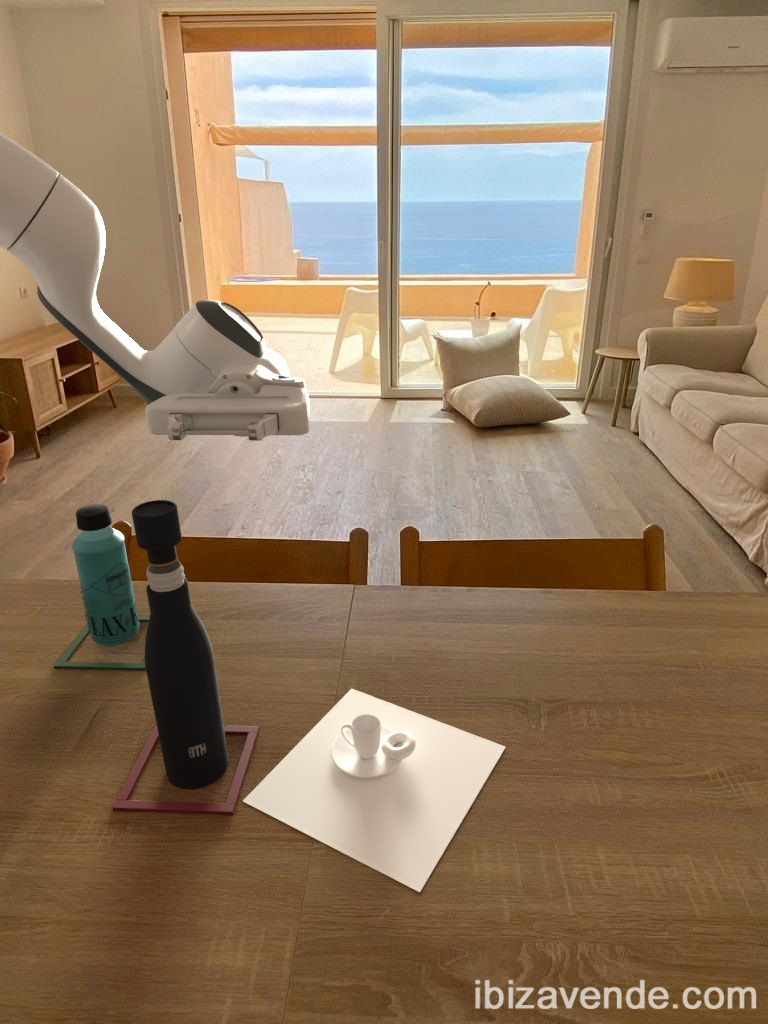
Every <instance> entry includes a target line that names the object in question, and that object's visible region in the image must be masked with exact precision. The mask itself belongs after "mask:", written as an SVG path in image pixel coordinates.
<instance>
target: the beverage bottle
mask: <svg viewBox="0 0 768 1024" xmlns="http://www.w3.org/2000/svg"><path fill="white" fill-rule="evenodd" d="M75 519H76V527H77V529H78V530H79V531H82V532H80V533H79V535H77V537H75V539H74V540H73V542H72V544H71V549H72V551H73V555H74V560H75V565H76V570H77V575H78V580H79V584H80V594H81V597H80V598H81V600H82V602H83V606H84V610H83V611H84V613H85V614H84V615H85V620H86V625H88V624H89V627H88V630H89V629H90V631H89V634H88V635H89V636H90V638H91V639H92V641H93V642H94V643H95V644H96V645H98V646H102V647H113V646H119V645H122V644H125V643H127V642H129V641H131V640H133V639H134V638H135V637H136V636H137V634H138V633H139V630H140V628H141V627H140V626H141V625H140V622H139V620H140V619H139V620H138V618H139V616H140V614H139V612H138V611H139V610H138V607H137V604H138V603H137V601H136V596H135V594H134V593H135V592H134V586H133V582H132V575H131V571H130V570H131V569H130V568H131V564H130V563H129V562H128V561H129V560H128V555H127V549H126V544H125V536H124V534H123V533H122V532H121V531H119V530H117V529H115V528H114V527H110V526H111V525H112V524H113V517H112V514H111V511H110V508H109V506H108V505H106V504H102V503H92V504H87V505H83V506H82V507H80V508H78V509H77V510H76V512H75Z"/></svg>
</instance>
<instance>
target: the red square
mask: <svg viewBox="0 0 768 1024" xmlns="http://www.w3.org/2000/svg"><path fill="white" fill-rule="evenodd" d="M223 725H224V724H223ZM224 732H225V735H241V736H243V735H244V736H247V737H246V740H245V742H244V745H243V749H242V751H241V754H240V757H239V760H238V763H237V766H236V769H235V772H234V776H233V778H232V781H231V784H230V788H229V791H228V794H227V797H226V800H225V802H224V803H222V802H221V803H220V802H218V803H217V802H214V803H213V802H193V801H191V802H189V801H163V800H161V801H160V800H135V799H134V800H130V797H131V795H132V792H133V791H134V790H135V787H136V785H137V783H138V781H139V779H140V776H141V775H142V772H143V770H144V768H145V767H146V764H147V762H148V760H149V758H150V756H151V755H152V752H153V750H154V748H155V746H156V744H157V742H158V740H159V734H158V729H157V724H156V723H155V724H154V726H153V727H152V729H151V731H150V733H149V735H148V737H147V739H146V741H145V743H144V745H143V747H142V749H141V751H140V753H139V755H138V757H137V758H136V760H135V762H134V764H133V766H132V768H131V770H130V771H129V774H128V776H127V778H126V780H125V782H124V783H123V785H122V788H121V790H120V792H119V794H118V796H117V798H116V800H115V802H114V803H113V805H112V811H117V812H118V811H119V812H147V813H171V814H173V813H175V814H200V815H201V814H202V815H203V814H204V815H227V816H230V815H231V816H232V815H234V812H235V810H236V805H237V803H238V799H239V796H240V793H241V790H242V787H243V784H244V780H245V777H246V773H247V771H248V768H249V764H250V761H251V758H252V755H253V752H254V748H255V745H256V741H257V739H258V736H259V732H260V726H259V725H258V726H257V725H224Z"/></svg>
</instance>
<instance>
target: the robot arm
mask: <svg viewBox="0 0 768 1024" xmlns="http://www.w3.org/2000/svg"><path fill="white" fill-rule="evenodd" d="M0 247H1V248H3V249H4V250H6V251H7V252H8V253H10V255H12V256H14V257H15V258H16V259H17V260H18V261H19V262H20V263H21V264H22V265H23V266H24V267H25V268H26V270H28V272H29V273H30V275H31V276H32V277H33V279H34V281H35V282H36V284H37V286H36V289H37V290H36V294H37V297H38V300H39V301H40V303H41V304H42V305H43V306H44V308H45V309H46V310H47V311H48V312H49V314H50V315H51V316H52V317H53V318H54V319H55V320H56V321H57V322H58V323H59V324H60V325H62V326H63V327H64V328H65V329H66V330H67V331H68V332H69V333H70V334H71V335H73V336H74V337H75V338H76V339H77V340H78V341H79V342H80V343H81V344H82V345H84V347H86V348H88V350H90V352H92V353H93V354H94V355H95V356H96V357H98V358H99V359H100V360H101V361H102V362H104V363H105V364H106V365H107V366H108V367H109V368H110V369H111V370H112V371H113V372H114V373H116V374H117V375H118V376H120V378H122V379H123V380H124V381H125V382H126V383H127V384H128V385H129V386H130V387H131V388H132V389H133V390H134V391H135V392H136V394H137V395H138V396H139V397H140V398H141V399H142V400H143V401H144V402H145V403H146V404H147V405H146V407H145V409H144V411H145V421H146V427H147V429H148V431H149V432H150V433H151V434H152V435H155V436H167V437H168V440H169V441H183V440H184V439H185V438H186V437H187V436H234V437H240V438H246V437H247V438H248V441H256V442H257V441H260V442H261V441H263V440H264V438H266V437H270V436H303V435H308V434H309V432H310V430H311V413H310V412H311V411H310V398H309V397H310V396H309V393H308V391H307V387H306V382H305V379H304V378H302V377H295V376H291V374H290V370H289V366H288V365H287V363H286V361H285V359H283V357H282V356H281V355H280V354H279V353H277V352H276V351H274V350H273V349H270V348H267V347H266V341H265V339H264V336H263V334H262V332H261V331H260V329H258V327H257V326H256V324H254V322H253V321H252V320H251V319H250V318H249V317H248V316H247V315H246V314H245V313H243V312H242V311H241V310H240V309H239V308H237V307H236V306H234V305H232V304H230V303H229V302H228V303H227V302H224V301H220V300H214V299H201V300H197V301H196V302H195V303H194V304H193V306H192V307H190V309H189V310H188V311H187V312H186V313H185V314H184V315H183V316H182V318H180V320H179V321H178V322H176V324H175V327H174V328H173V329H172V330H171V331H170V332H169V333H168V334H167V335H166V336H165V338H164V339H163V340H162V341H161V342H160V344H158V346H156V347H155V348H154V349H152V350H144V349H143V348H142V347H140V346H139V344H138V343H137V342H135V341H134V340H133V339H132V338H131V337H129V335H128V334H127V333H126V332H124V331H123V330H122V329H121V328H120V327H119V326H118V325H117V324H116V323H115V322H114V321H112V320H111V319H110V318H109V317H108V316H107V315H106V314H105V313H104V312H103V310H102V309H101V308H100V305H99V303H98V300H97V286H98V282H99V279H100V274H101V269H102V266H103V262H104V258H105V257H104V256H105V250H106V228H105V225H104V221H103V218H102V216H101V213H100V211H99V209H98V207H97V206H96V205H95V203H94V202H93V201H92V200H91V199H90V198H89V197H88V196H87V195H86V194H85V193H84V192H83V191H82V190H81V189H80V188H79V187H78V186H76V185H75V184H74V183H72V182H71V181H70V180H69V179H68V178H66V177H65V176H64V175H63V174H61V173H59V172H58V170H56V169H55V168H53V167H52V166H51V165H50V164H49V163H47V162H46V161H44V160H42V158H41V157H38V156H37V155H36V154H34V153H33V152H32V151H30V150H29V149H27V148H25V147H24V146H22V145H21V144H19V143H17V142H16V141H14V140H13V139H12V138H9V137H8V136H6V135H4V134H3V133H1V132H0Z"/></svg>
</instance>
